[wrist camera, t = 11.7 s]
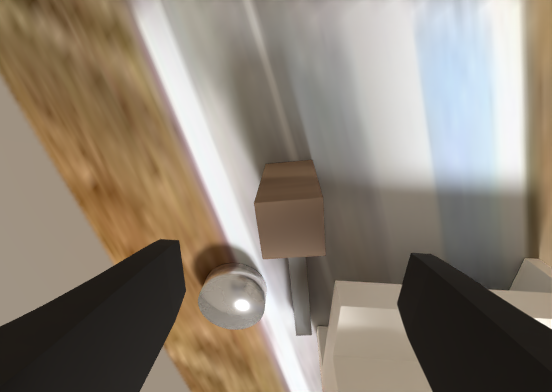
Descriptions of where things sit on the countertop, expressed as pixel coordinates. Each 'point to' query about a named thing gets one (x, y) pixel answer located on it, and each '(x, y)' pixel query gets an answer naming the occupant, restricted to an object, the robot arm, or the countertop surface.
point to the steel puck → (233, 296)
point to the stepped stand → (399, 332)
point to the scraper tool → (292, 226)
